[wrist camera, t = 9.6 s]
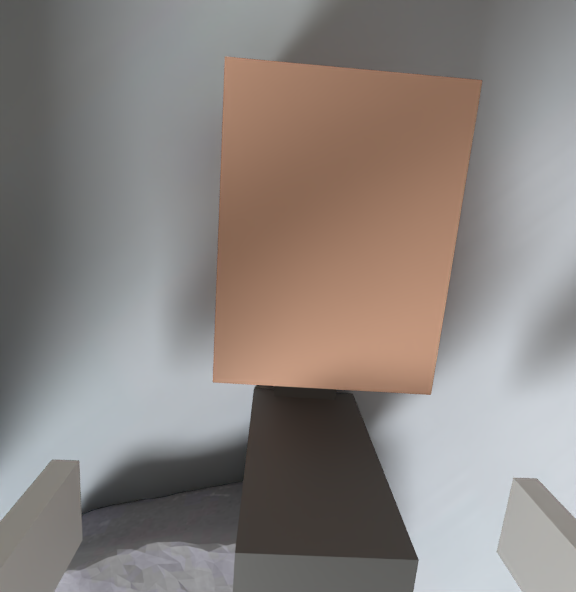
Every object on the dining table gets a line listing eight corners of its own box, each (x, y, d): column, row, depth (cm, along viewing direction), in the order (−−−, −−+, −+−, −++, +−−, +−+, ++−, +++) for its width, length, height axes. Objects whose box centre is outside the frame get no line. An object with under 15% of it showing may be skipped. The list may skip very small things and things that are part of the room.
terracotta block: (226, 453, 17) (184, 660, 10) (242, 105, 14) (202, -8, 7) (368, 460, 18) (441, 667, 10) (413, 120, 15) (571, 28, 7)
